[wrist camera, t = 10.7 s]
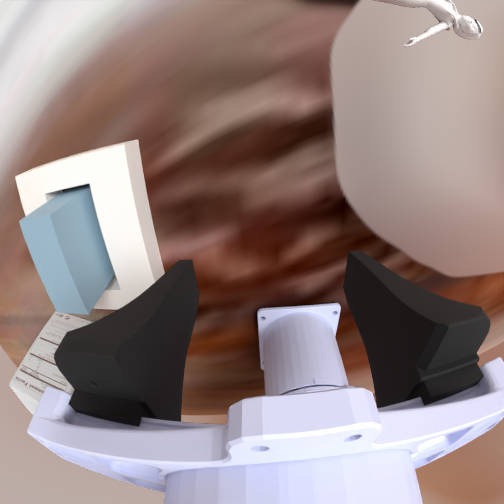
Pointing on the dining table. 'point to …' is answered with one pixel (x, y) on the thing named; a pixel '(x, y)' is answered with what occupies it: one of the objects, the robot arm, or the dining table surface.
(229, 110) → the dining table surface
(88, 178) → the white rectangular frame
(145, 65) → the dining table surface
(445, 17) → the woman figurine
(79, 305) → the block
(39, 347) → the supplement box
